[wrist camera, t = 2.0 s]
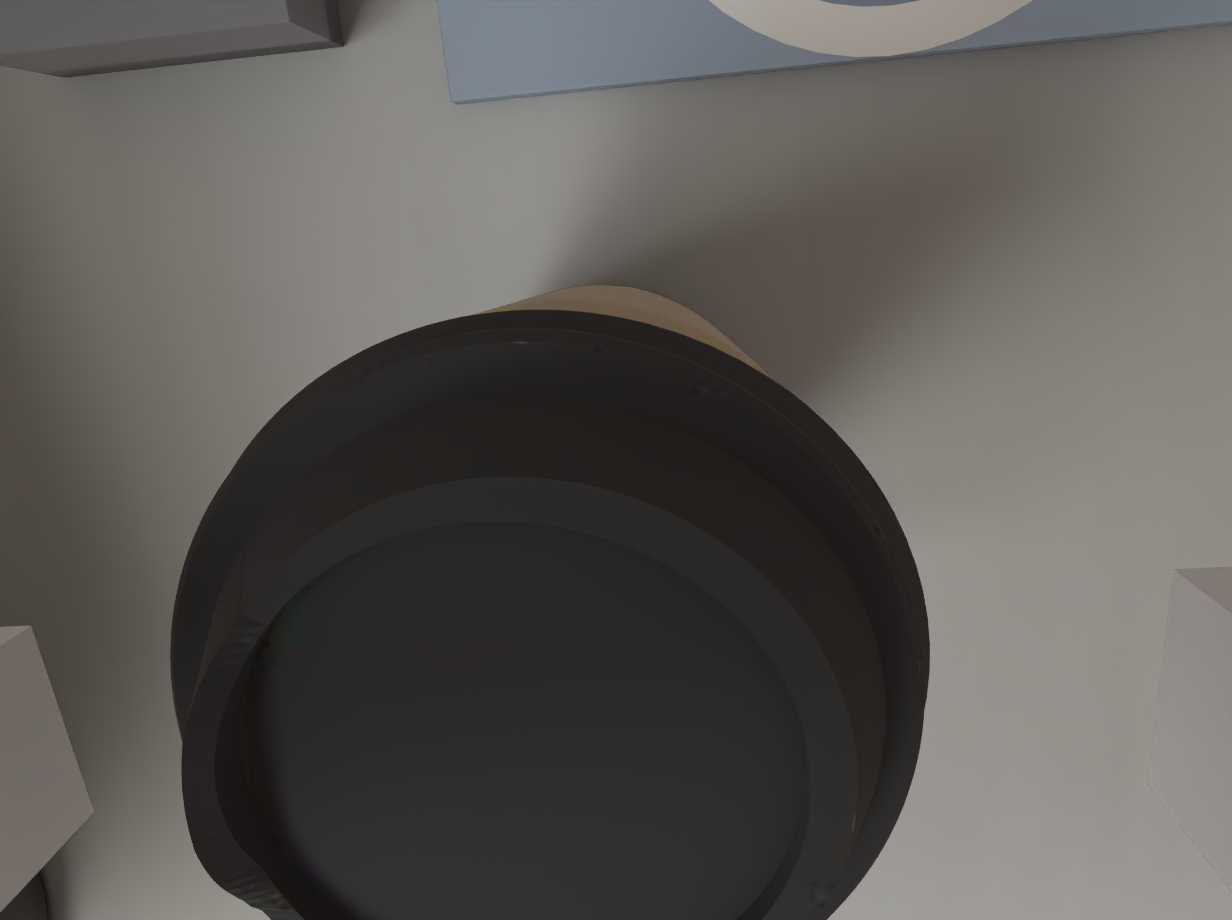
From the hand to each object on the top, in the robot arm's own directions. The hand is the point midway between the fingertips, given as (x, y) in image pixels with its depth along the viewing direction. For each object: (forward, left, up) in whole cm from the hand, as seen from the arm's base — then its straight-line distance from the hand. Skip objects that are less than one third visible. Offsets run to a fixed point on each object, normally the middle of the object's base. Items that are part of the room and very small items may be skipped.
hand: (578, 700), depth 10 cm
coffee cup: (0, 0, -13) cm, 13 cm away
